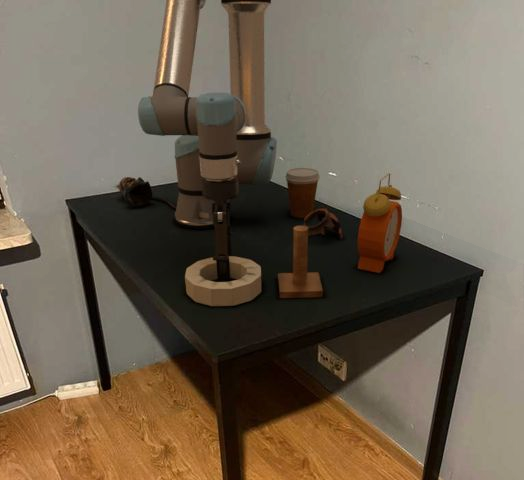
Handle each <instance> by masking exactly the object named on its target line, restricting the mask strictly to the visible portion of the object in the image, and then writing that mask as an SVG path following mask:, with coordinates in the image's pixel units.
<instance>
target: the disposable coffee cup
mask: <svg viewBox="0 0 524 480" xmlns="http://www.w3.org/2000/svg"><path fill="white" fill-rule="evenodd" d="M284 177H285V179H286V184H287V192H288V202H289V211H290V212H289V213H290V216H292V217H294V218H297V219H305V217H306V216H307V215H308V214H310V213H311V212H313V211H314V208H315V202H316V196H317V195H316V194H317V189H318V183H319V180H320V177H321V176H320V174H319V171H318V170H317V169H315V168H309V167H295V168H291V169H288V170H287V171H286V175H285V176H284Z"/></svg>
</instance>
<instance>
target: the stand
mask: <svg viewBox="0 0 524 480" xmlns="http://www.w3.org/2000/svg"><path fill="white" fill-rule="evenodd" d="M292 237H293V238H292V239H293V241H292V272H278V273H277V284H278V294H279V296H278V297H279V299H300V298H301V299H306V298H324V288H323V285H322V282H321V277H320V273H319V272H317V271H314V272H308V255H309V253H308V252H309V251H308V249H309V236H308V227H306V226H303V225H295V226H294V227H293V236H292Z"/></svg>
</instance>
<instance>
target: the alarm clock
mask: <svg viewBox="0 0 524 480" xmlns="http://www.w3.org/2000/svg"><path fill="white" fill-rule="evenodd" d="M387 177H388V181H387V182H388V183H387V186H382V185H381V184H382V181H383V180H385V178H387ZM390 183H391V173H386V175H385V176H383V177H382V178H380V180H379V183H378V189H377V190H376V192H375V193H373V194H370V195H369V196H368V197H366V199H365V200H364V202H363V206H362V208H363V209H362V210H363V213H362V216H361V218H360V223H359V226H358V233H357V252H358V256H359V260H358V265H357V269H359V270H363V271H368V272H373V273H377V274H381V272H382V271H383V270H384V267H385V263H386V262H387V261H392V260H393V259H394V257H395V255H394V252H395V250H396V248H397V244H398V242H399V239H400V235H401V231H402V229H401V228H402V223H403V210H402V205H401V203H399V202H397V201H400V200H402V193H401V191H400V190H399V189H397V188H395V187H393V185H392V184H390Z"/></svg>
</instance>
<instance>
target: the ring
mask: <svg viewBox="0 0 524 480" xmlns="http://www.w3.org/2000/svg"><path fill="white" fill-rule="evenodd" d="M213 257H214V256H212V257H208V258H205V259H200V260H198V261H196V262H194V263H193V264H191V265H190V266H188V267H187V268H186V270H185V274H184V282H185V292H186V295H187V296H188V297H190V298H191V300H193V301H194V302H195V303H199V304H202V305H206V306H210V307H232V306H238V305H240V304H241V305H242V304H243V303H247V302H251V301H253V300H254V299H255V298H256V297H258V296H259V295H260V294H261V293H262V266H261V265H260V264H259V263H256V262H255V261H254V260H252V259H250V258H245V257H239V256H236V255H235V256H234V255H232V256H229V263H230V279H234V280H230V282H218V281H214V280H218V278H217V263H216V260H213Z"/></svg>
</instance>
